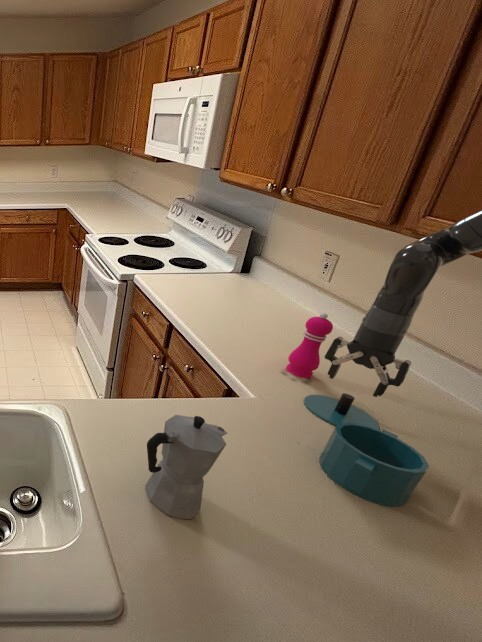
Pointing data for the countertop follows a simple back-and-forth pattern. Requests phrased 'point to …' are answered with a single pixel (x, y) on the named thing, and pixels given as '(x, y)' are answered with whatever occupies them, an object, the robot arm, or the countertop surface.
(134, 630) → the countertop surface
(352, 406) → the lid
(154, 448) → the coffeepot
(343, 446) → the pot
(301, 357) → the pepper mill
